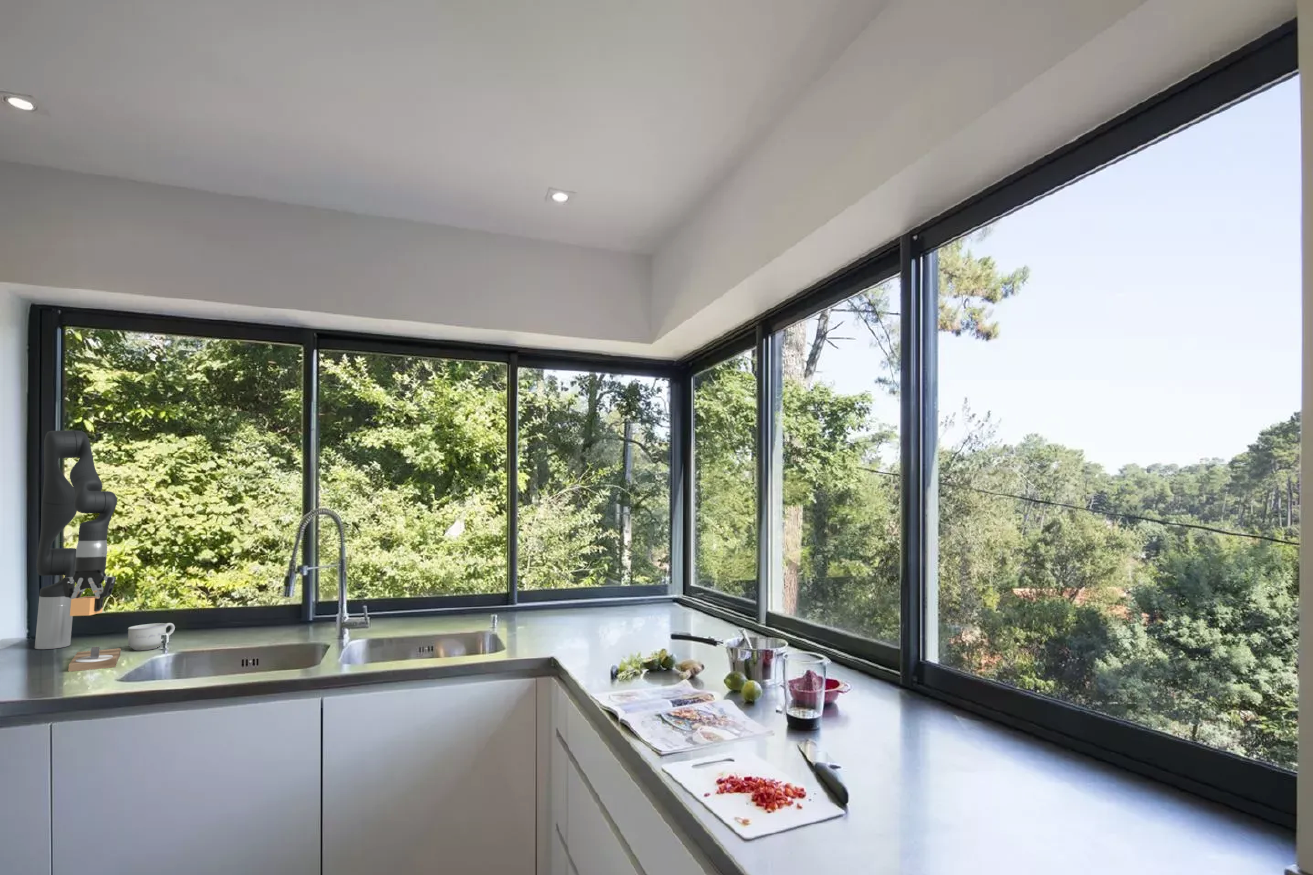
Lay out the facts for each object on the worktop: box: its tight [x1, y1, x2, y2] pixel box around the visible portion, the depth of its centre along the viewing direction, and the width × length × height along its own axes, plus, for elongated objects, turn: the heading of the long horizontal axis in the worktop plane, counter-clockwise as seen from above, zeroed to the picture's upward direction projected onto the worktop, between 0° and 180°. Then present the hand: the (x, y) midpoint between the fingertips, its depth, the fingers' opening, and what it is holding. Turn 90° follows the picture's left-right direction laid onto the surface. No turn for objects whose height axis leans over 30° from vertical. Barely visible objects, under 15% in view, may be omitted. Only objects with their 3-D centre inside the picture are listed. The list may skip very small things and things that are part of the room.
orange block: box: [70, 595, 104, 617], centre depth 216 cm, size 7×5×5 cm
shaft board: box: [67, 646, 122, 672], centre depth 218 cm, size 20×11×5 cm, turn 34°
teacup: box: [127, 622, 176, 651], centre depth 240 cm, size 14×11×8 cm
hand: (86, 610), depth 216 cm, fingers closed on orange block, 5 cm apart
